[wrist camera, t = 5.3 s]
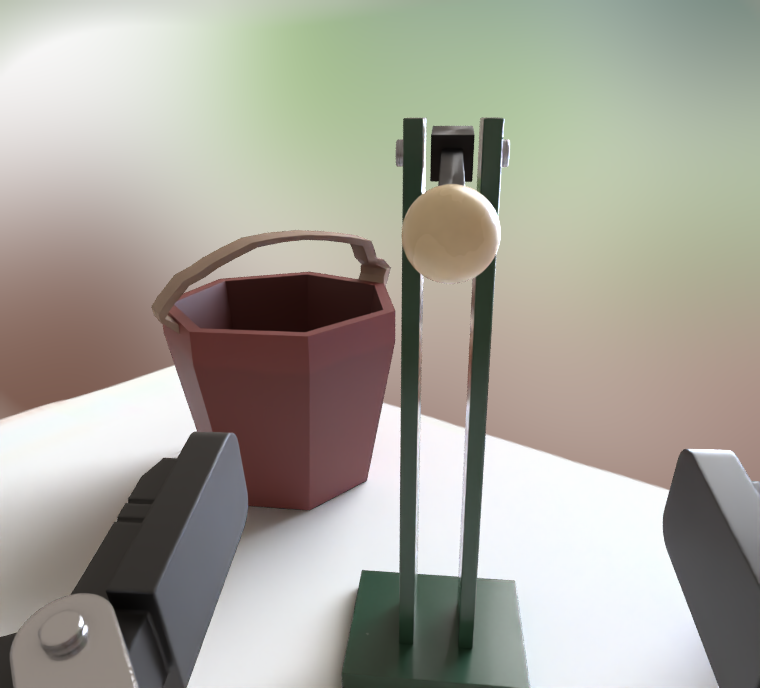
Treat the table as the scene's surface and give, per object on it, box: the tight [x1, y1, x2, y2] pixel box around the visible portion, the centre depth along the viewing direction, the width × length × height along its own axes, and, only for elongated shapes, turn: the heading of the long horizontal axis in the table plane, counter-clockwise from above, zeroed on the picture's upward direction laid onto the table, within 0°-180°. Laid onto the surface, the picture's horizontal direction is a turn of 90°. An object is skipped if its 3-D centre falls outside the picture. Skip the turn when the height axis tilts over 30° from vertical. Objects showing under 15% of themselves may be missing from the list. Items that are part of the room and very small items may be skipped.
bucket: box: [152, 230, 395, 510], centre depth 64 cm, size 24×22×25 cm
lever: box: [402, 126, 500, 284], centre depth 28 cm, size 17×3×3 cm, turn 174°
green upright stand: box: [342, 118, 530, 688], centre depth 40 cm, size 10×12×35 cm
